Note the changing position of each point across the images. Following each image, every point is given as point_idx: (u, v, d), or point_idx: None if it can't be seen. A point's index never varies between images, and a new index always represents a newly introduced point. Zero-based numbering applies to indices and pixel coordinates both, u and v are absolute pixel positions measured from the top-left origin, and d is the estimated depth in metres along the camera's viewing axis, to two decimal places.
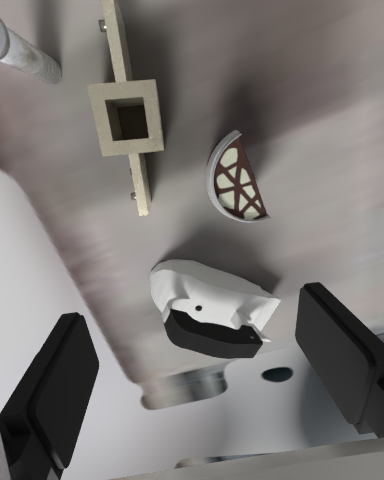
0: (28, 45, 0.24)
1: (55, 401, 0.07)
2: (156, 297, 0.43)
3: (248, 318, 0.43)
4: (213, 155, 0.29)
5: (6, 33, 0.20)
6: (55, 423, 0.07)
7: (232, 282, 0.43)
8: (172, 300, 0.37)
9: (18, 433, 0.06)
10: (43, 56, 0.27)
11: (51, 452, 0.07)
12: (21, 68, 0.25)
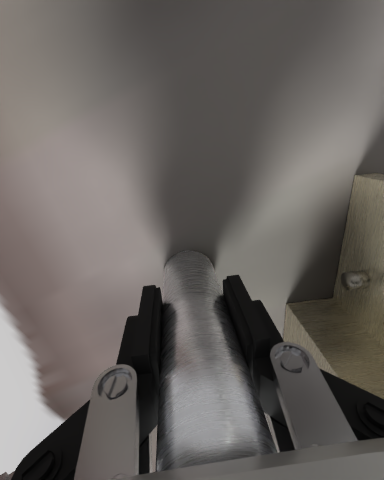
0: (253, 384, 0.07)
1: (159, 352, 0.08)
2: None
3: None
4: None
5: None
6: None
7: None
8: None
9: (142, 372, 0.07)
10: None
11: None
12: None
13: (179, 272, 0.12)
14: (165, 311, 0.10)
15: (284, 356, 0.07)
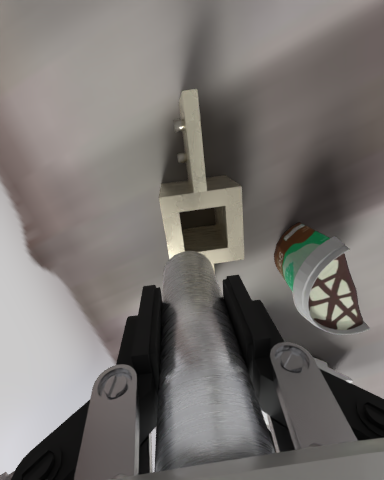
0: (252, 385, 0.07)
1: (159, 352, 0.08)
2: None
3: None
4: (307, 266, 0.24)
5: None
6: None
7: None
8: None
9: (142, 372, 0.07)
10: (230, 320, 0.10)
11: None
12: None
13: (179, 272, 0.12)
14: (164, 312, 0.10)
15: (284, 356, 0.07)
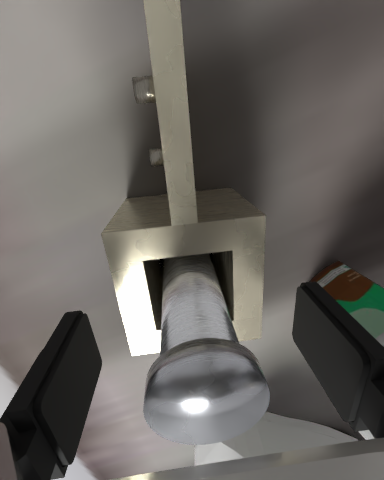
0: (220, 289, 0.12)
1: (59, 398, 0.07)
2: None
3: None
4: None
5: None
6: (60, 420, 0.07)
7: None
8: None
9: (24, 429, 0.06)
10: None
11: (56, 448, 0.07)
12: None
13: None
14: None
15: None
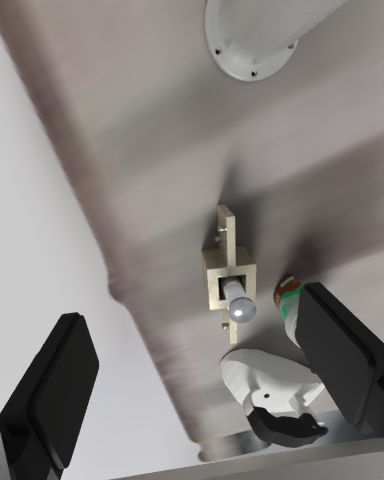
0: None
1: (55, 401, 0.07)
2: (229, 382, 0.52)
3: (304, 401, 0.52)
4: (294, 310, 0.39)
5: None
6: (55, 423, 0.07)
7: (291, 370, 0.53)
8: (250, 394, 0.46)
9: (18, 433, 0.06)
10: None
11: (51, 452, 0.07)
12: None
13: None
14: None
15: None
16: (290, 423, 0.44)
